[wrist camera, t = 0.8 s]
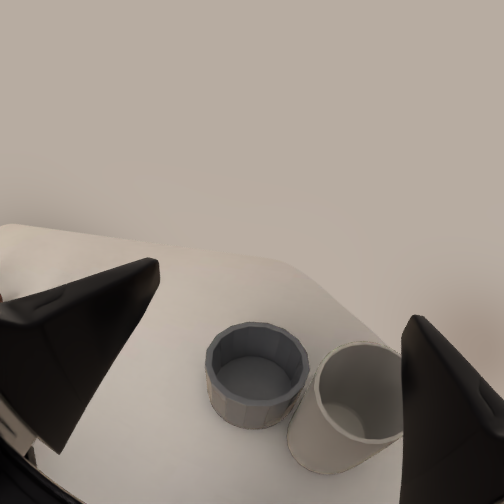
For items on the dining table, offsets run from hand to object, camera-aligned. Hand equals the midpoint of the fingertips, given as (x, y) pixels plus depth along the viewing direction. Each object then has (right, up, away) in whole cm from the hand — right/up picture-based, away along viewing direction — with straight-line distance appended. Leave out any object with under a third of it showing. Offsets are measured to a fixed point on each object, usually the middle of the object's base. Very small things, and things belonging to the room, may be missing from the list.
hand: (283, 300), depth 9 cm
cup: (+6, -13, +11) cm, 18 cm away
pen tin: (-1, -10, +14) cm, 17 cm away
